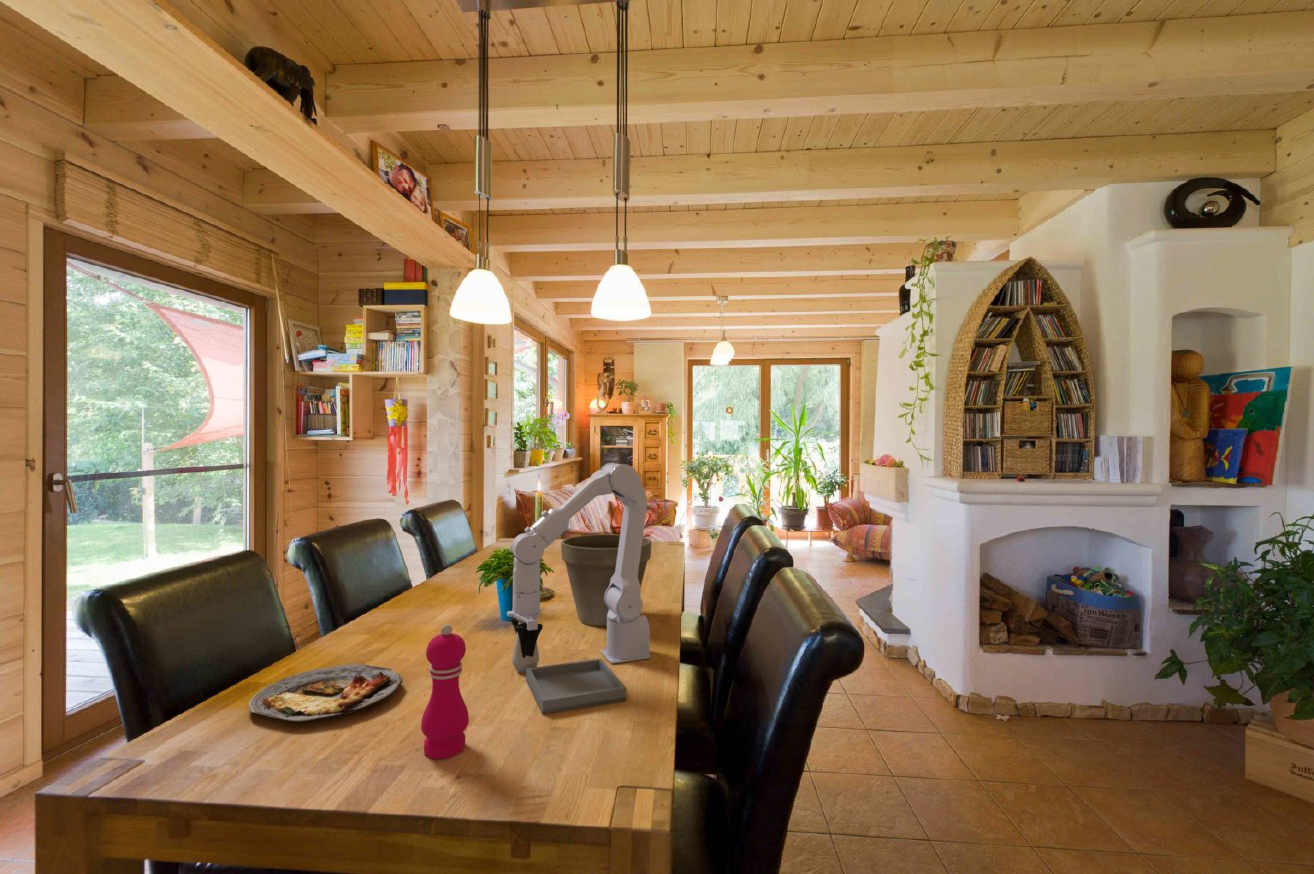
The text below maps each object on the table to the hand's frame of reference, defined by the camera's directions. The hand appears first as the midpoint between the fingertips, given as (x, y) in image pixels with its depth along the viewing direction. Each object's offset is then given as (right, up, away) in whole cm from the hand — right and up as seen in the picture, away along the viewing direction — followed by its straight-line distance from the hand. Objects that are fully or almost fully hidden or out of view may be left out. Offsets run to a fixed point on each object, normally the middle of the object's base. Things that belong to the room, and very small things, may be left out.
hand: (525, 653), depth 129 cm
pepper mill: (-6, -4, -33) cm, 33 cm away
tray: (+12, -4, -10) cm, 16 cm away
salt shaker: (0, -4, 0) cm, 4 cm away
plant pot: (+14, -4, +36) cm, 39 cm away
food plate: (-34, -4, -15) cm, 37 cm away
